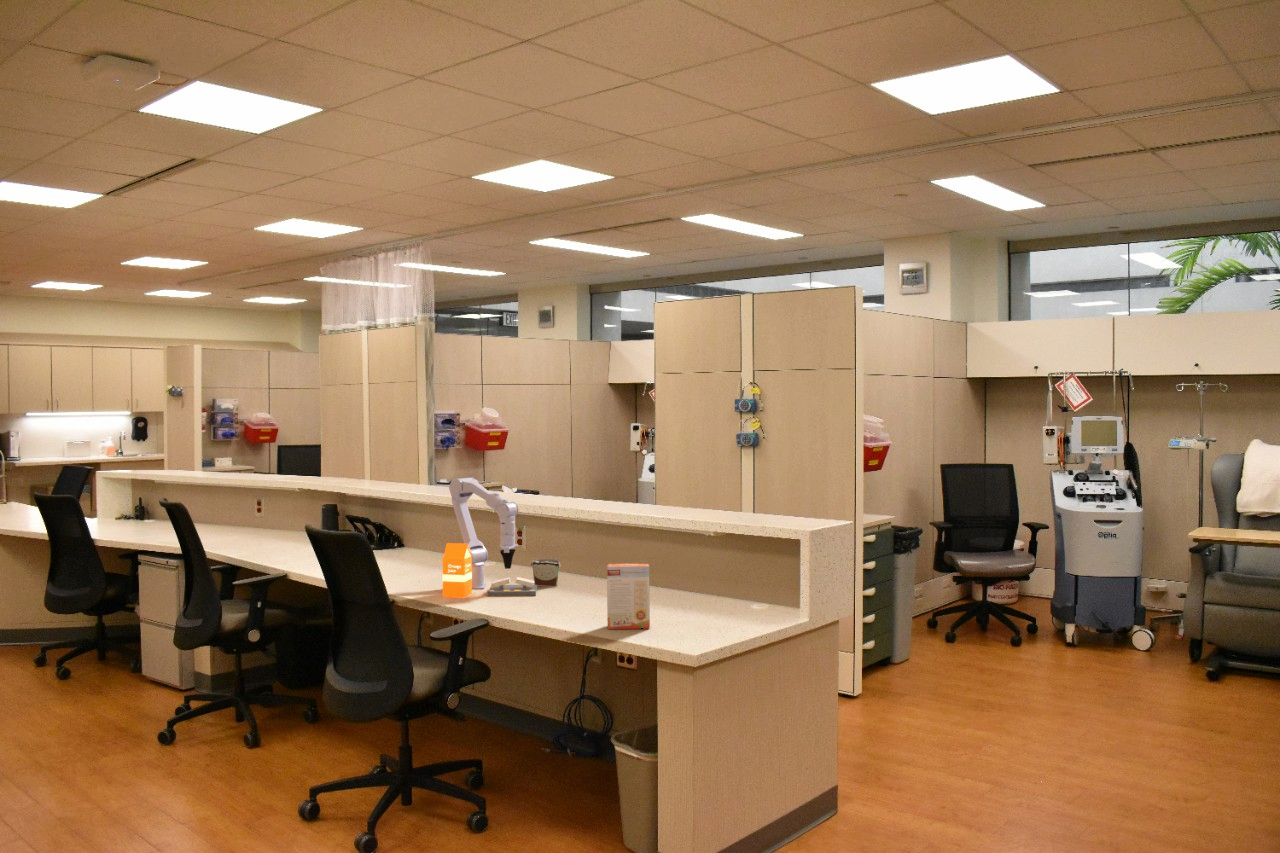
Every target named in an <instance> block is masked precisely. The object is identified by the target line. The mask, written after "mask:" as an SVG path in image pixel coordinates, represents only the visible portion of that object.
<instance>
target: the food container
mask: <svg viewBox="0 0 1280 853" xmlns="http://www.w3.org/2000/svg"><path fill="white" fill-rule="evenodd" d="M530 566H531V567H532V574H533V575H532V576H533V581H535V582H534V585H537V587H538V586H539V587H540V586H541V587H558V578H559V571H560V568H561V562H560V560H558V559H555V558H554V559H553V558H540V559H539V558H538V559H532V560H531V564H530Z"/></svg>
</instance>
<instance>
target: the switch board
mask: <svg viewBox="0 0 1280 853" xmlns="http://www.w3.org/2000/svg"><path fill="white" fill-rule="evenodd" d="M537 590H538V586H537V585H534V586H533V587H529V586H525V585H521V584H505V585H501V586H497V587H493V588H492V586H491V585H490V587H489V589H488V592H487V597H536V594H537V592H538V591H537Z"/></svg>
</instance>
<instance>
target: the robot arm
mask: <svg viewBox="0 0 1280 853" xmlns="http://www.w3.org/2000/svg"><path fill="white" fill-rule="evenodd" d="M448 488H449V492H450V493H449V494H450V496H451V503H452V506H453V510H454V514H455V516H456V520H457V521H456V522H457V524H458V526H459V530H460V534H461V538H462V541H463V544H468V546H469V550H470V553H471V558H472V590H475V589H476V590H477V589H479V590H481V589H482V590H483V589H485V587H486V585H487V584H486V583H485V564H486V562H487V561H488V559H489V553H488V552H489V551H488V550H487V548H486V547H485V546H484V543H483V542H482V541H480V539H478V537H477V533H476V531H475V527H474V523H473V520H472V516H471V514H470V511H469V507H468V500H469V499H470V498H471V496H473V495H476V496H478V497H479V498H481V499H483V500H484V501H485V504H486V505H487V506H488V507H489V508H491V509H492V510H494V511H495V512H496V514H497V515H498V521H499V522H500V526H499V527H500V534H499V535H500V536H499V538H500V544H499V548H501V550H500V551H499V552H500V556H501V557H502V561H503V565H504V569H505V570H506V569H509V570H510V569H511V568H512V564H513V558H514V555H515V552H516V549H515V548H519V544H517V543H516V516H518V513H519V506H518V504H517V503H516V502H515V501H508V499H506V498H504V497H503V496H500V493H499V492H490V491H489V490H487V488H486V487H484V486H483V485H482V484H480V483H479V480H477V479H475V478H474V477H472V476H470V477H463V478H462V477H461V478H453V479H452V480H451V482H450V484H449V486H448Z"/></svg>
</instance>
